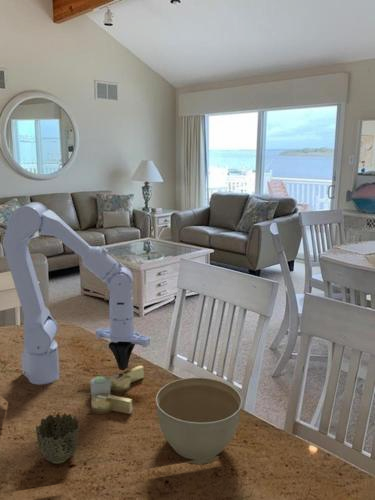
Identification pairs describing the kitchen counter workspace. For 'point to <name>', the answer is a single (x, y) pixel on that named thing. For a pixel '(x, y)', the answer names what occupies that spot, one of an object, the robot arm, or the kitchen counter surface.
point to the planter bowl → (198, 417)
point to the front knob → (110, 403)
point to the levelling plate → (100, 385)
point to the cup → (58, 437)
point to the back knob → (126, 379)
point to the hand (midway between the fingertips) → (123, 368)
